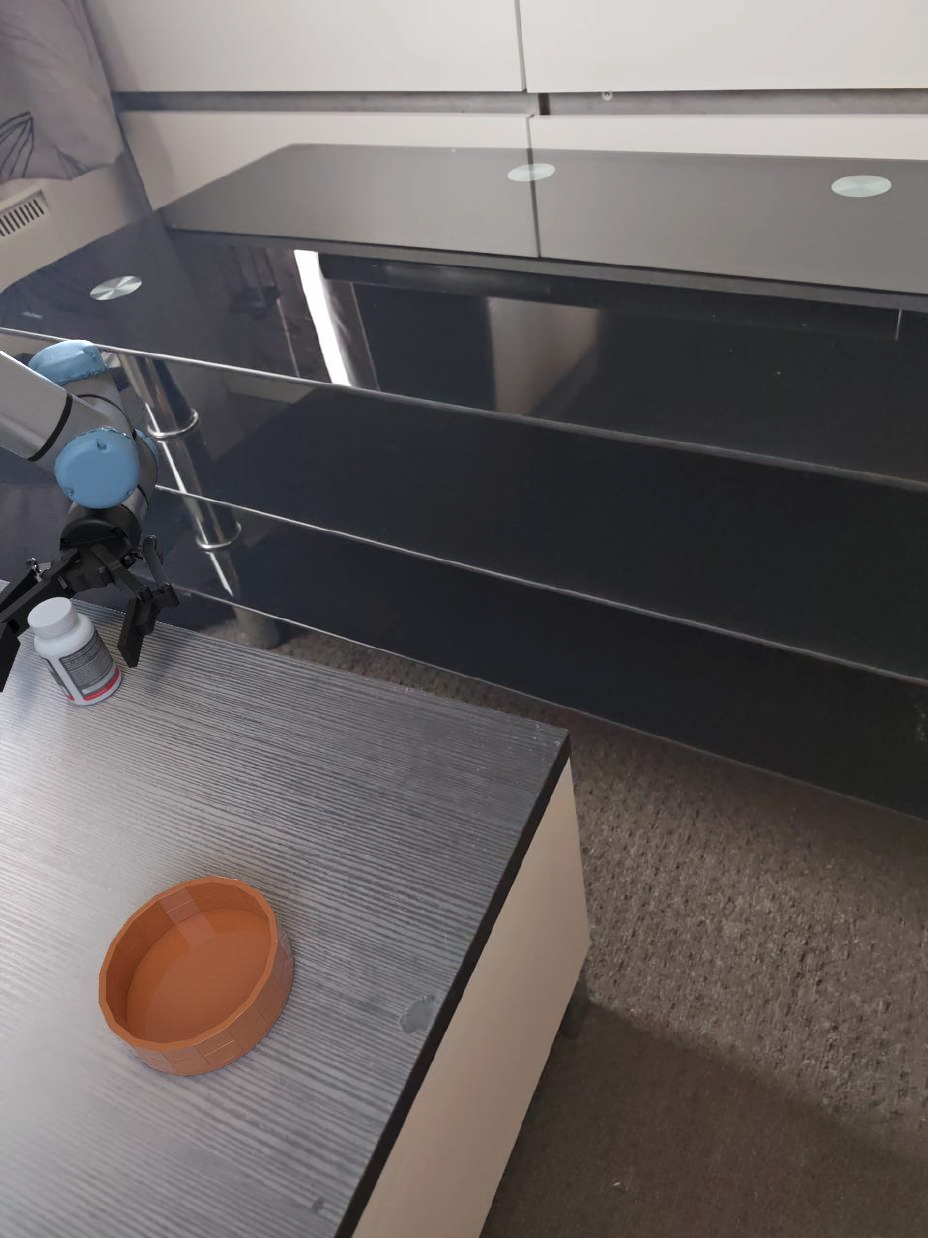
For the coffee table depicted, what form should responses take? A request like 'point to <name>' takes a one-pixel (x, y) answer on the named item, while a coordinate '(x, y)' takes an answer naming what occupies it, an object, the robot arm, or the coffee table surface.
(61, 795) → the coffee table surface
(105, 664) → the pill bottle
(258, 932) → the orange round bowl
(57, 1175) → the coffee table surface
